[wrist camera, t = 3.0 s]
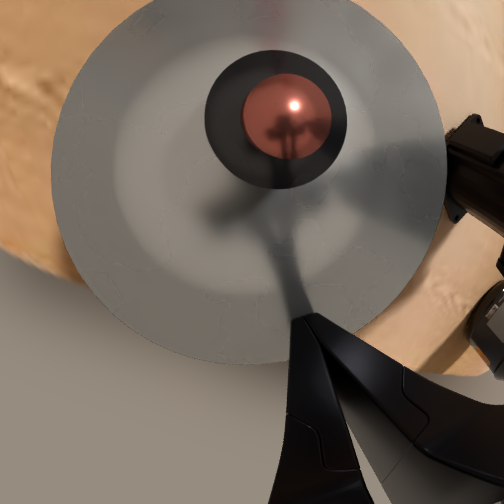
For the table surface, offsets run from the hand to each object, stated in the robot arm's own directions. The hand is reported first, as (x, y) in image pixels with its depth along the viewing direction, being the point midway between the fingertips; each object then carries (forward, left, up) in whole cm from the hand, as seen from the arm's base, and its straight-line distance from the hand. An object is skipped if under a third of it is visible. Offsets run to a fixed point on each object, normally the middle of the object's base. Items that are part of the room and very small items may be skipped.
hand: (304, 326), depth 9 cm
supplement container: (-32, -14, -9) cm, 36 cm away
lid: (+4, -2, -2) cm, 4 cm away
